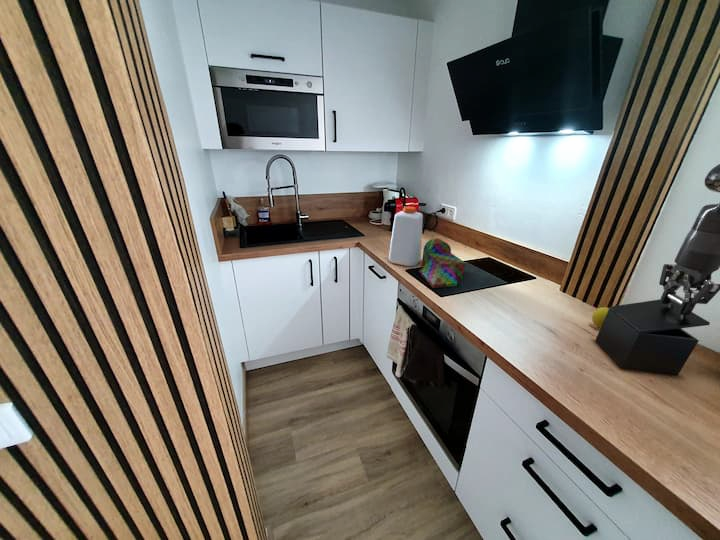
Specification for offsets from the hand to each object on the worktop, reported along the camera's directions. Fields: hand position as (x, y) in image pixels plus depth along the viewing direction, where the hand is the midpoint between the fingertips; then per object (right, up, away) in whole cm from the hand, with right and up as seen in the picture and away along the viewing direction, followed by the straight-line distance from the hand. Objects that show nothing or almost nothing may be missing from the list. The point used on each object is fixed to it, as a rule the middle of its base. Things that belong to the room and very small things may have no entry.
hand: (673, 308), depth 76 cm
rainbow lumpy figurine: (-47, +8, +58) cm, 75 cm away
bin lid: (-3, -2, +2) cm, 4 cm away
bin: (-4, -15, +7) cm, 17 cm away
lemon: (-2, -10, +21) cm, 23 cm away
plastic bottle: (-61, +15, +74) cm, 97 cm away
